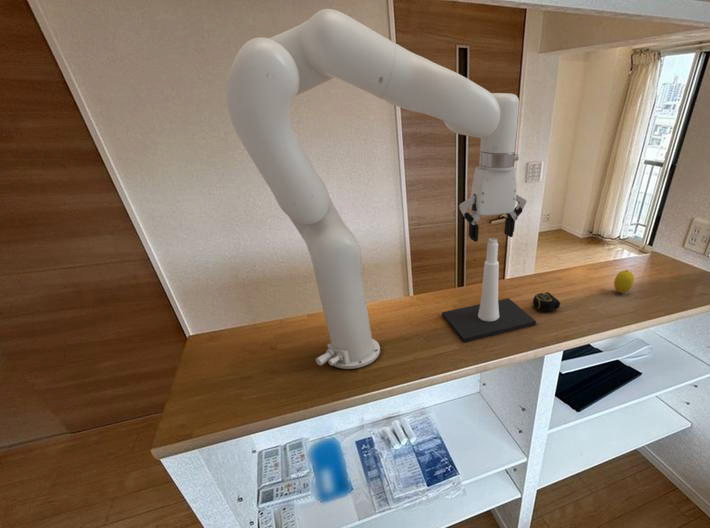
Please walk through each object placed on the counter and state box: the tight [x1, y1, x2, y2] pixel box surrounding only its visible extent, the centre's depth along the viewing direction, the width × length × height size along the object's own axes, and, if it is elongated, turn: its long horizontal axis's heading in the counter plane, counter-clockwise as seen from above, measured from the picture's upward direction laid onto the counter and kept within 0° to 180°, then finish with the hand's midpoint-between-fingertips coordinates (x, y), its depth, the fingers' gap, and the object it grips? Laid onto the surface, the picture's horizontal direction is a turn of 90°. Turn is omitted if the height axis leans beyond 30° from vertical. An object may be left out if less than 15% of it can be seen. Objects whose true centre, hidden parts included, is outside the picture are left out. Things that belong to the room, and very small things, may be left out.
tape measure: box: [532, 291, 561, 312], centre depth 110 cm, size 7×7×4 cm
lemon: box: [613, 269, 635, 294], centre depth 117 cm, size 6×6×8 cm
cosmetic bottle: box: [478, 237, 500, 321], centre depth 98 cm, size 6×6×22 cm
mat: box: [441, 297, 537, 343], centre depth 104 cm, size 22×15×1 cm
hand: (491, 237), depth 91 cm, fingers open, 9 cm apart
